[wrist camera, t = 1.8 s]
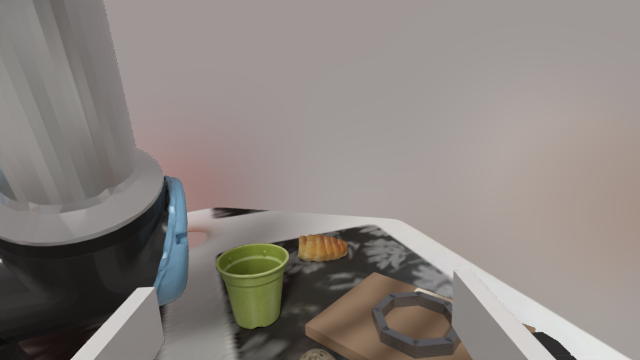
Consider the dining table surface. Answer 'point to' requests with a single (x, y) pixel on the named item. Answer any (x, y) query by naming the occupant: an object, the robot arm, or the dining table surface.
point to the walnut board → (359, 330)
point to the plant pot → (254, 282)
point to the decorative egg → (316, 355)
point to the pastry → (321, 248)
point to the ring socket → (408, 344)
